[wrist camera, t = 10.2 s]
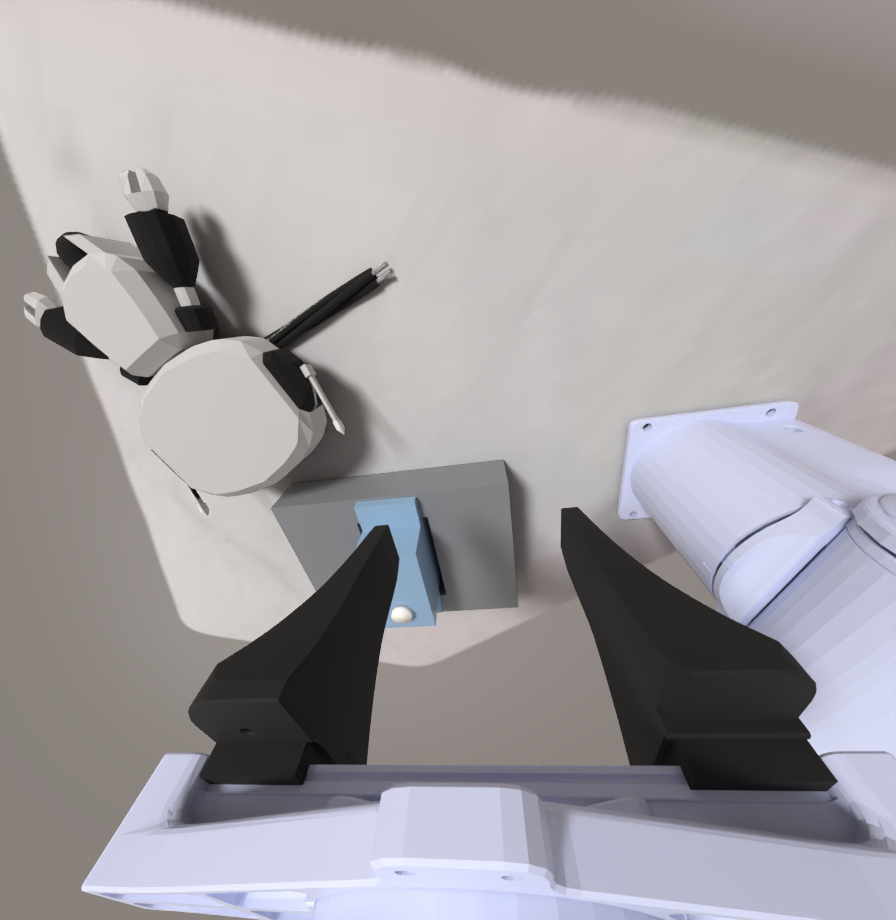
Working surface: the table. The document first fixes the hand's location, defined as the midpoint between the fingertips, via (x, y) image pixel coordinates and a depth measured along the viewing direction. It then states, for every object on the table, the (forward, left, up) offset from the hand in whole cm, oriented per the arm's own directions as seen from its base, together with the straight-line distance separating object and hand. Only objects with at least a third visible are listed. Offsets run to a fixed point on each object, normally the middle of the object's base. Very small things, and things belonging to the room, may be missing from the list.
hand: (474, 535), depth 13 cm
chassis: (+6, +8, -9) cm, 14 cm away
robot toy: (+15, -7, -10) cm, 19 cm away
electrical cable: (+9, -8, -10) cm, 16 cm away
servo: (+6, +8, -9) cm, 13 cm away
